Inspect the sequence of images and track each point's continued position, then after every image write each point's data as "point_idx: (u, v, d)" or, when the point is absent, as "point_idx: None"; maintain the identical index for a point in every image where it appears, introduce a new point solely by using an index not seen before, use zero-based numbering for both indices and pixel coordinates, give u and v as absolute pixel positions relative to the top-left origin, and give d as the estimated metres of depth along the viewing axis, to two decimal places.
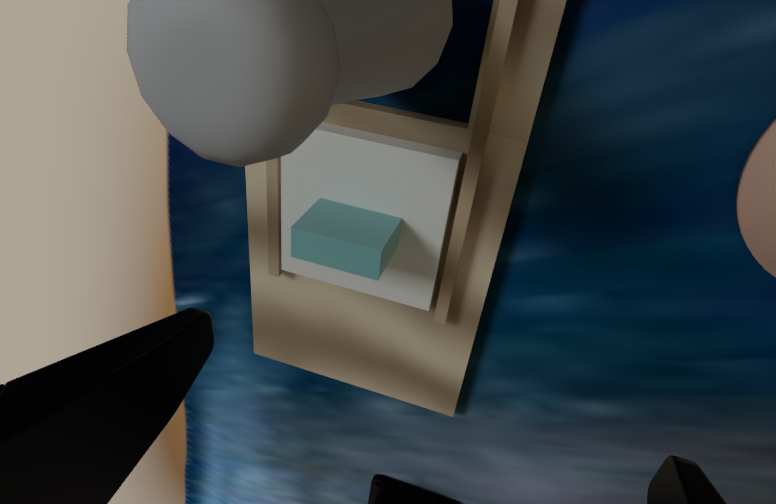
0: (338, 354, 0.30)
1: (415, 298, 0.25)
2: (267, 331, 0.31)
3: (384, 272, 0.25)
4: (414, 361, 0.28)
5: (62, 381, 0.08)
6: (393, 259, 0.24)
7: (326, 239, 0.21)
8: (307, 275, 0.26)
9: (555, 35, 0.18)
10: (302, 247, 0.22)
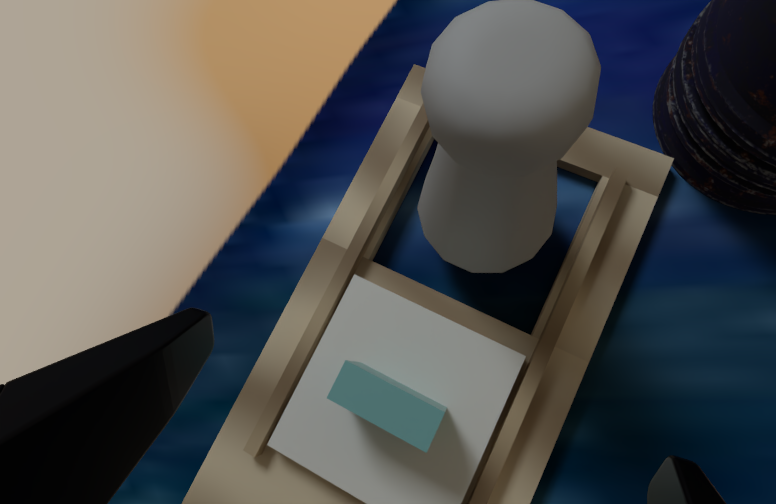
0: None
1: None
2: None
3: (401, 475, 0.20)
4: None
5: (62, 381, 0.08)
6: (419, 460, 0.20)
7: (382, 384, 0.18)
8: (298, 460, 0.21)
9: (623, 275, 0.22)
10: (346, 388, 0.18)
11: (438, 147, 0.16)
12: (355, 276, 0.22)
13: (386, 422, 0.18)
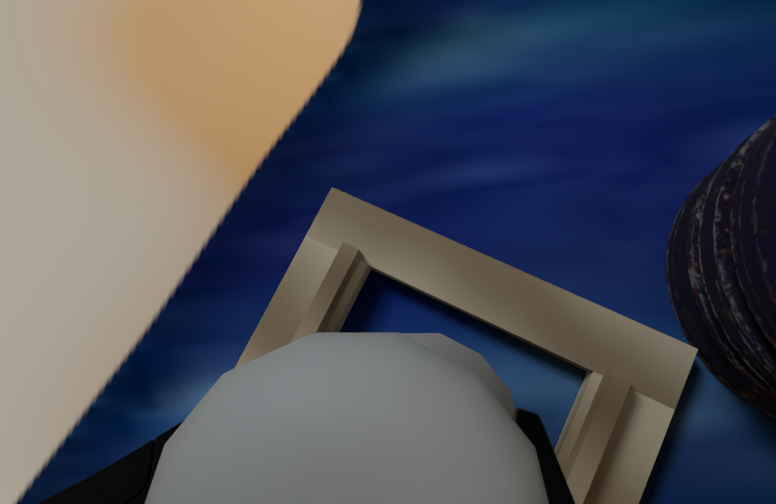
0: None
1: None
2: None
3: None
4: None
5: None
6: None
7: None
8: None
9: None
10: None
11: None
12: None
13: None
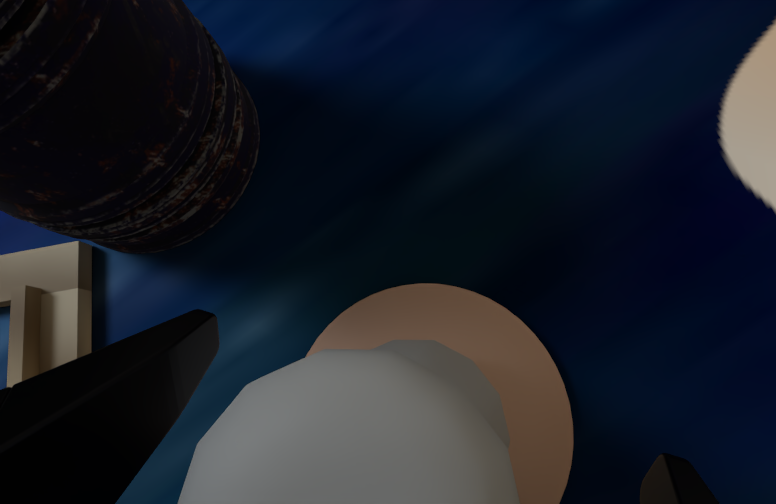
0: None
1: None
2: None
3: None
4: None
5: (69, 383, 0.08)
6: None
7: None
8: None
9: None
10: None
11: None
12: None
13: None
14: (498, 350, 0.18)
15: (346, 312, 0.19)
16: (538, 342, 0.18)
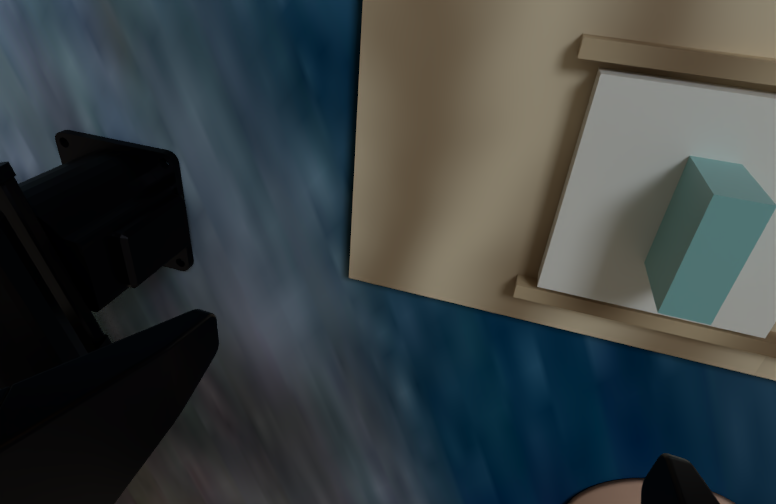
0: (409, 130, 0.19)
1: (556, 273, 0.19)
2: None
3: (599, 240, 0.18)
4: (428, 240, 0.21)
5: (68, 383, 0.08)
6: (620, 254, 0.18)
7: (741, 257, 0.14)
8: (589, 122, 0.16)
9: None
10: (731, 216, 0.13)
11: None
12: None
13: (688, 269, 0.14)
14: None
15: None
16: None
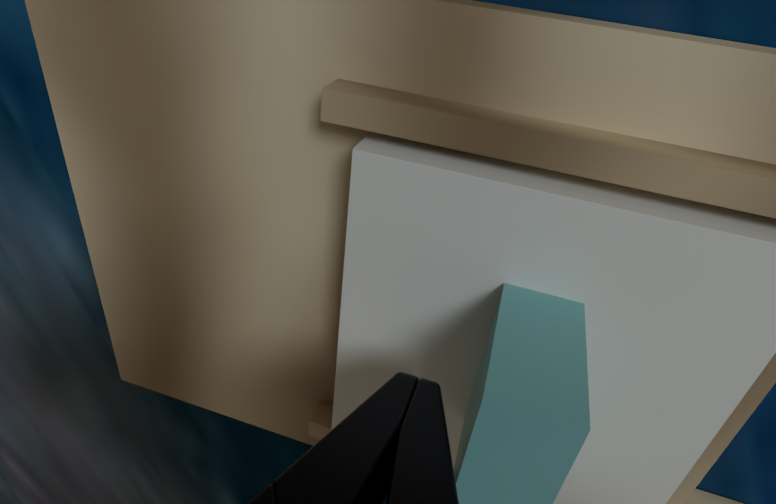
0: (140, 202, 0.13)
1: None
2: (109, 1, 0.10)
3: None
4: (201, 346, 0.15)
5: (329, 477, 0.07)
6: None
7: (545, 493, 0.08)
8: (352, 220, 0.10)
9: None
10: (517, 434, 0.07)
11: None
12: None
13: (468, 495, 0.08)
14: None
15: None
16: None
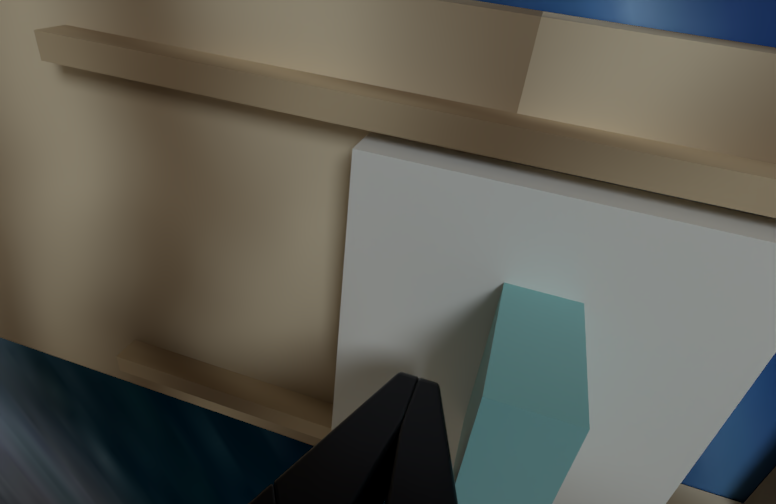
0: None
1: None
2: None
3: None
4: (28, 291, 0.16)
5: (330, 477, 0.07)
6: None
7: (545, 493, 0.08)
8: (351, 220, 0.10)
9: None
10: (516, 433, 0.07)
11: None
12: None
13: (468, 494, 0.08)
14: None
15: None
16: None
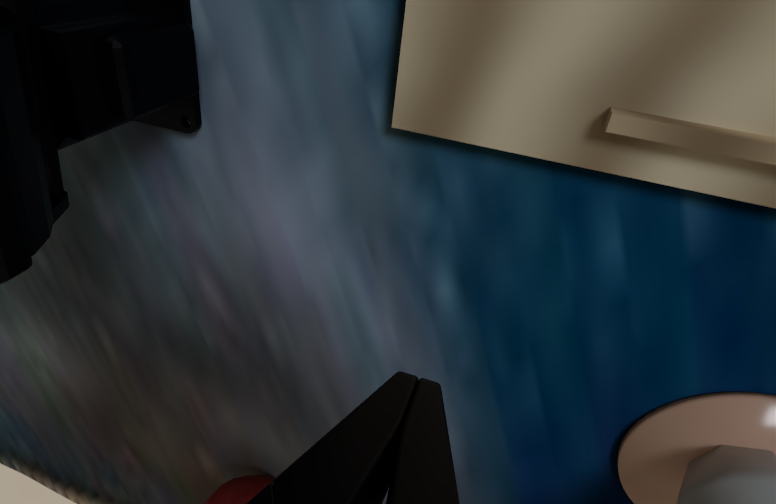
0: None
1: None
2: None
3: None
4: (497, 65, 0.17)
5: (328, 477, 0.07)
6: None
7: None
8: None
9: None
10: None
11: None
12: None
13: None
14: None
15: None
16: None
